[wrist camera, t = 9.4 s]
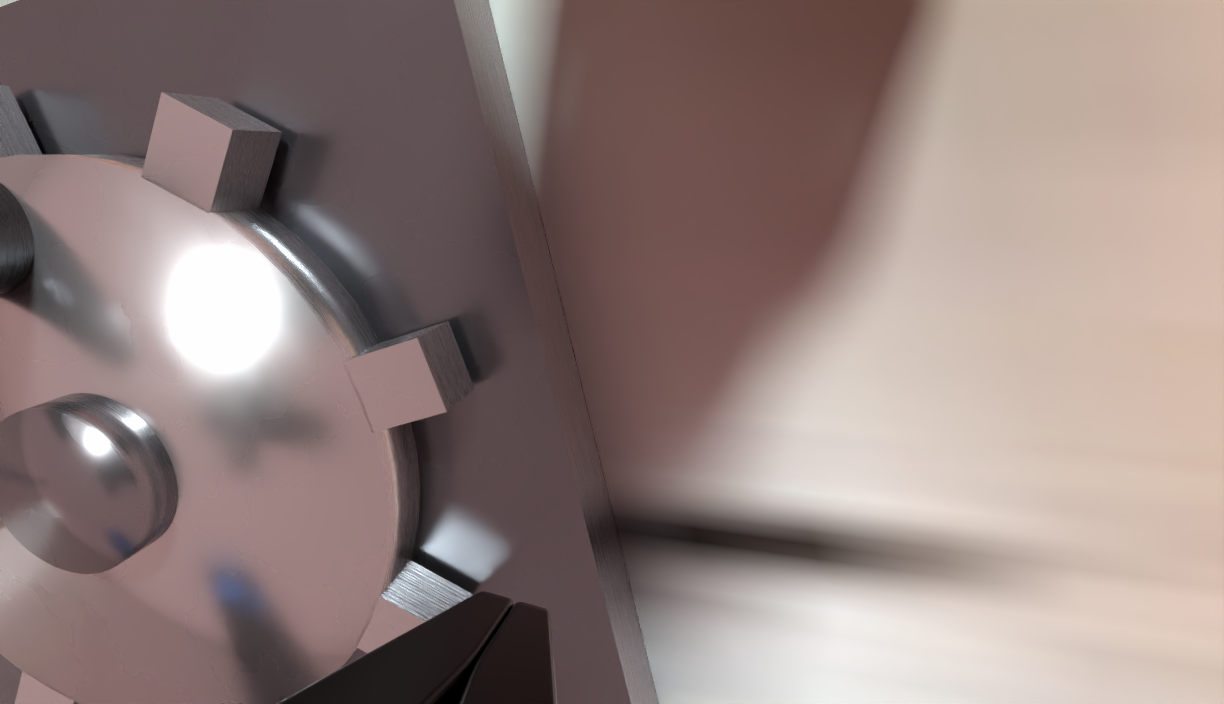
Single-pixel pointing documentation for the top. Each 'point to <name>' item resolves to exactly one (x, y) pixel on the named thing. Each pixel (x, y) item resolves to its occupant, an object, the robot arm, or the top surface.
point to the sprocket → (196, 429)
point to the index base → (390, 258)
